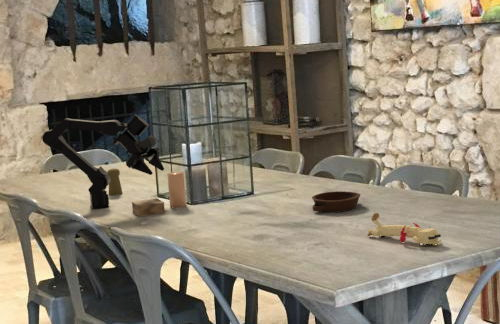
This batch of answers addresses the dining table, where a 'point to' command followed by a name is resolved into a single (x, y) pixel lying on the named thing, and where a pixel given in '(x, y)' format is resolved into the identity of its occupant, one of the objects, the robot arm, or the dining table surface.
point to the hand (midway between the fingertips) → (157, 172)
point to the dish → (335, 201)
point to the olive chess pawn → (114, 182)
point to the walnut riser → (148, 207)
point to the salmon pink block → (176, 189)
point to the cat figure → (405, 232)
